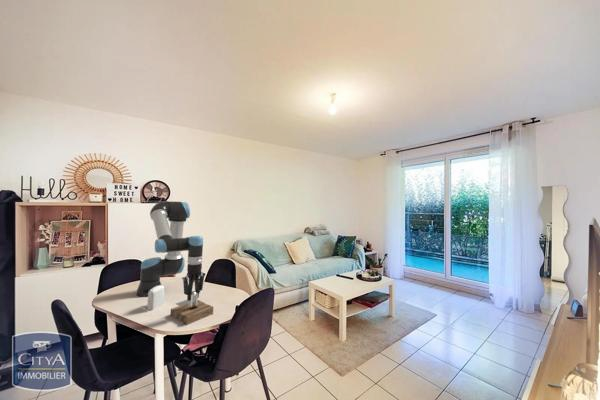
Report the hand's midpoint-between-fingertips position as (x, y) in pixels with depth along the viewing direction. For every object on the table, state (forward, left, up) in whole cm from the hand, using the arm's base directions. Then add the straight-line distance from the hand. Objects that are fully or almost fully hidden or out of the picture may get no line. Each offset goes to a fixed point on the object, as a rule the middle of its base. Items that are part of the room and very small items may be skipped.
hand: (192, 304), depth 133 cm
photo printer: (-26, -7, -6) cm, 28 cm away
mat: (-15, +8, -6) cm, 18 cm away
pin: (0, 0, -3) cm, 3 cm away
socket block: (0, 0, -6) cm, 6 cm away
